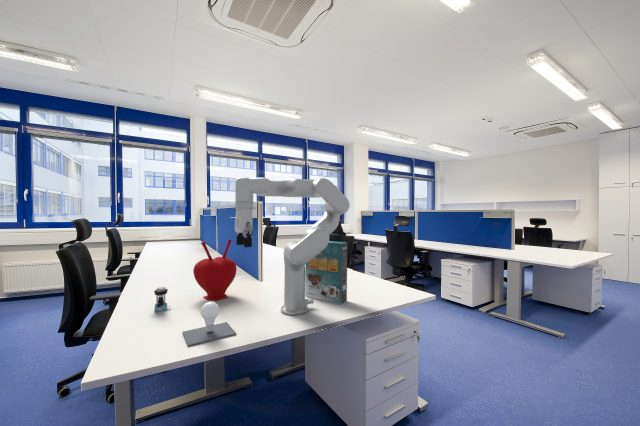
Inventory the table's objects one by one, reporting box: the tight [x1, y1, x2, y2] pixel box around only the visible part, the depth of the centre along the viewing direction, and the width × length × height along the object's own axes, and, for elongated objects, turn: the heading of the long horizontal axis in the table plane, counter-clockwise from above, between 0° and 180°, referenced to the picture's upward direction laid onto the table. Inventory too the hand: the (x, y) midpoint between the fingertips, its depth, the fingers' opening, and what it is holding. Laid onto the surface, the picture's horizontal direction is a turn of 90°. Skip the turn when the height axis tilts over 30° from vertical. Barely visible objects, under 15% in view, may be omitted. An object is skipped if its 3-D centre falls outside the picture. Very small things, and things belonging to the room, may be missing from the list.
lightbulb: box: [200, 301, 220, 332], centre depth 99 cm, size 6×6×11 cm
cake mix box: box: [305, 240, 348, 305], centre depth 141 cm, size 22×6×30 cm, turn 58°
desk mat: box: [182, 321, 237, 348], centre depth 98 cm, size 16×12×1 cm
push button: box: [153, 286, 171, 312], centre depth 122 cm, size 7×5×10 cm
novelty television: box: [192, 238, 237, 302], centre depth 141 cm, size 21×13×30 cm, turn 144°
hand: (243, 245), depth 116 cm, fingers open, 9 cm apart
